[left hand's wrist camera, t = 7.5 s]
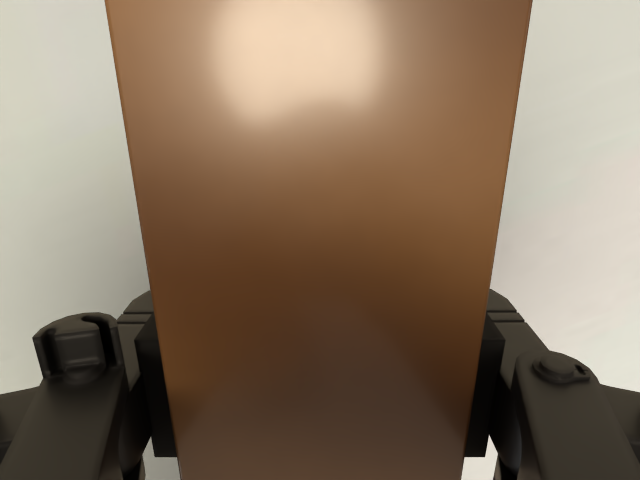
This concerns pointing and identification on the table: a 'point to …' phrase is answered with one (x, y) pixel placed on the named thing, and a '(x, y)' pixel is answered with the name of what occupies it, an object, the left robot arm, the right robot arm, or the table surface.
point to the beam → (319, 223)
